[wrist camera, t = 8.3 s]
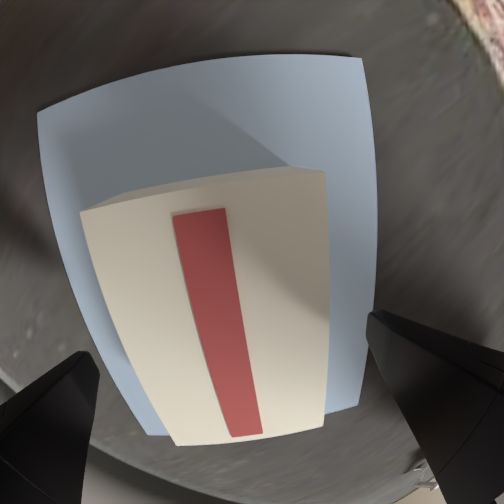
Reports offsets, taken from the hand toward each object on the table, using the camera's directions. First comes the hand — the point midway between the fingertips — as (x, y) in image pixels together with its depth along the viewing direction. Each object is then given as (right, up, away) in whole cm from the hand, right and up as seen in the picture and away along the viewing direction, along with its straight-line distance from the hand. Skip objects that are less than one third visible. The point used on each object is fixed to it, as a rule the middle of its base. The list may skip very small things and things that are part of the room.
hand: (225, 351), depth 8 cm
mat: (0, +1, +3) cm, 4 cm away
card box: (0, +1, +3) cm, 3 cm away
